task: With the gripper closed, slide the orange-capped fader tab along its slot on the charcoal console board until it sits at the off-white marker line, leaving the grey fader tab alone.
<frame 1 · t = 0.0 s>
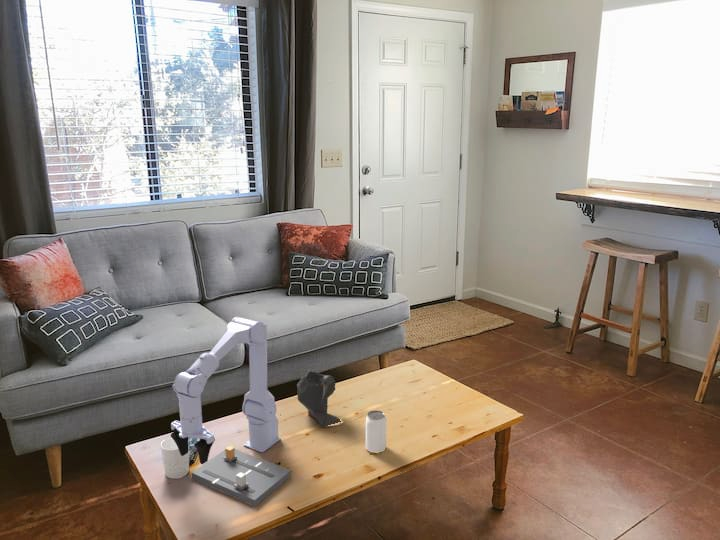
hand: (194, 458, 165), 10 cm above the table, tool pointing down, fingers open, 7 cm apart
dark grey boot: (318, 417, 208), on the table
white cup: (177, 472, 176), on the table
console board: (241, 477, 173), on the table
fader tab orange: (230, 453, 178), point 4 cm above the table, slide at 0.0 cm
fader tab grey: (241, 480, 165), point 4 cm above the table, slide at 0.0 cm
can: (375, 449, 189), on the table
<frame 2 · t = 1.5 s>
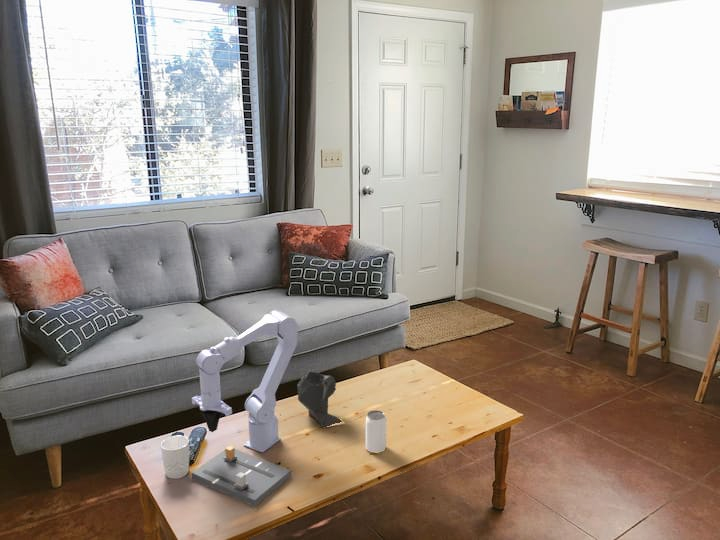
hand: (213, 430, 180), 10 cm above the table, tool pointing down, fingers closed
nothing on the table moved.
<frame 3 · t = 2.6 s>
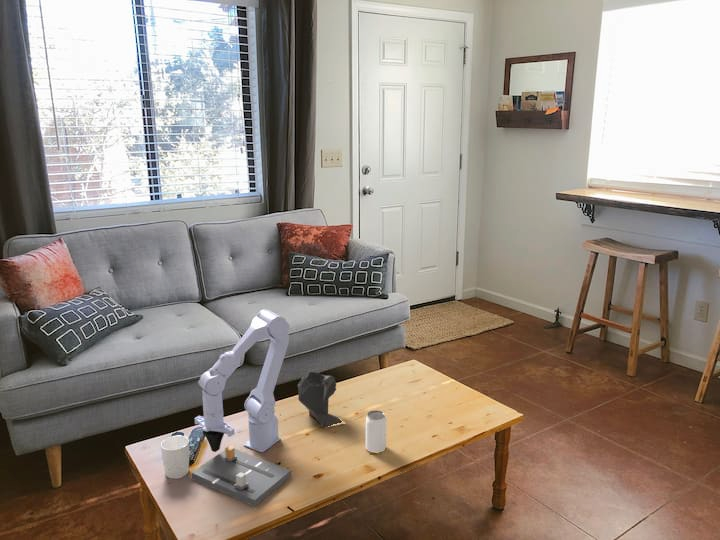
hand: (215, 450, 181), 3 cm above the table, tool pointing down, fingers closed
nothing on the table moved.
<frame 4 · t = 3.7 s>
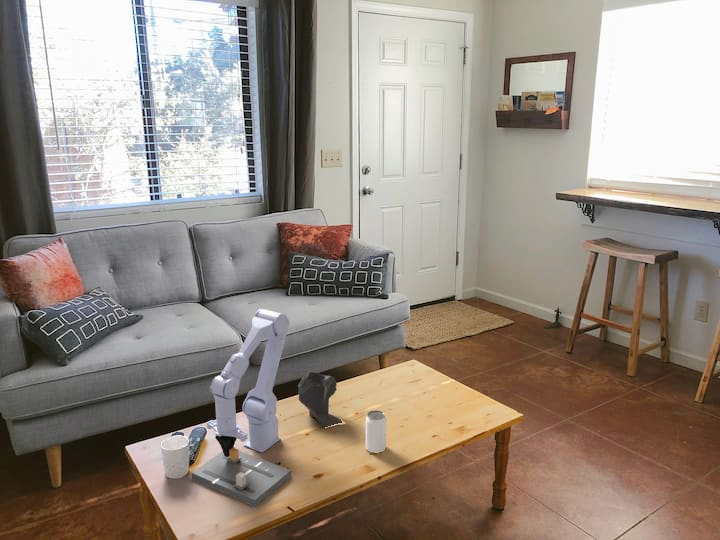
hand: (228, 455, 179), 3 cm above the table, tool pointing down, fingers closed
fader tab orange: (234, 454, 177), point 4 cm above the table, slide at 1.6 cm, touching gripper
everything else where it was.
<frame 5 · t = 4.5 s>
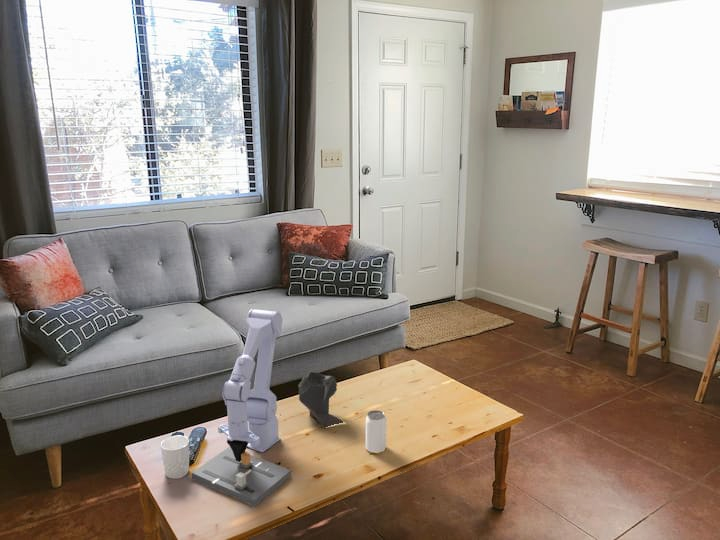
hand: (239, 459, 176), 3 cm above the table, tool pointing down, fingers closed
fader tab orange: (245, 459, 175), point 4 cm above the table, slide at 6.3 cm, touching gripper
everything else where it was.
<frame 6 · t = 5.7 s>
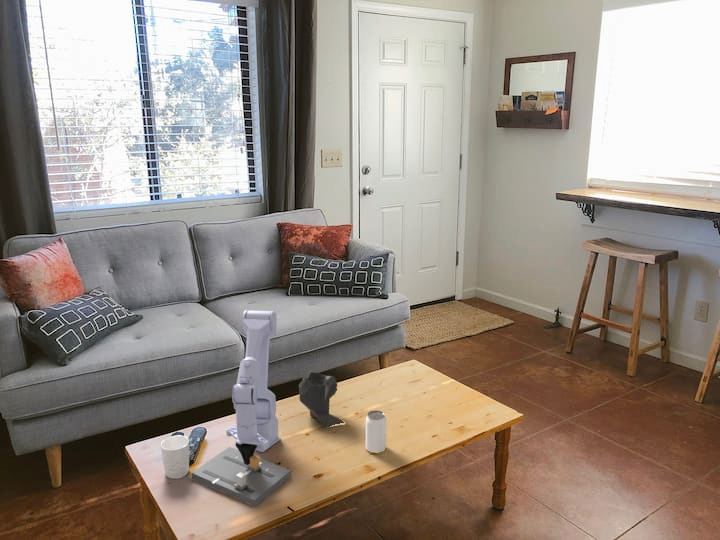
hand: (248, 463, 175), 3 cm above the table, tool pointing down, fingers closed
fader tab orange: (254, 462, 173), point 4 cm above the table, slide at 9.6 cm, touching gripper
everything else where it was.
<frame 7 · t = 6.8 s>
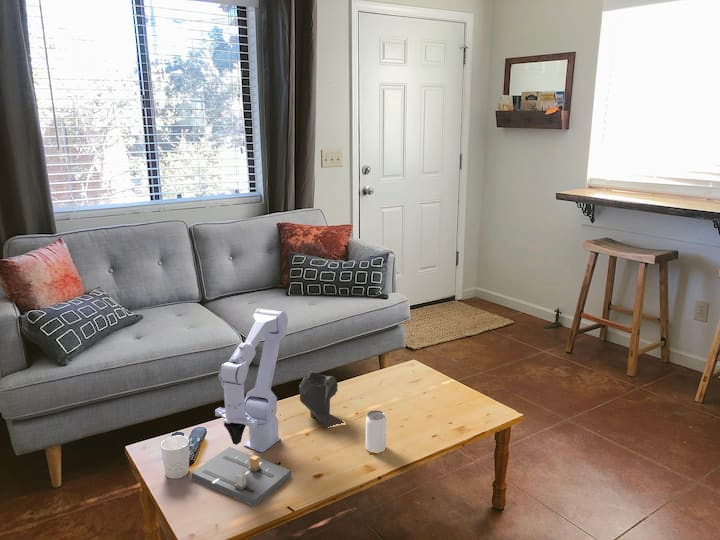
hand: (237, 442, 176), 9 cm above the table, tool pointing down, fingers closed
fader tab orange: (254, 462, 173), point 4 cm above the table, slide at 9.6 cm
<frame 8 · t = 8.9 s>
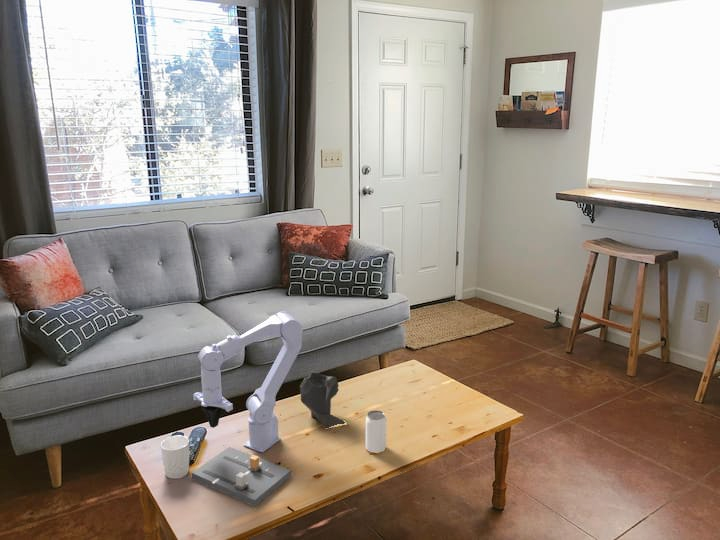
hand: (214, 425, 182), 10 cm above the table, tool pointing down, fingers closed
at the end: fader tab orange slide at 9.6 cm; fader tab grey slide at 0.0 cm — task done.
